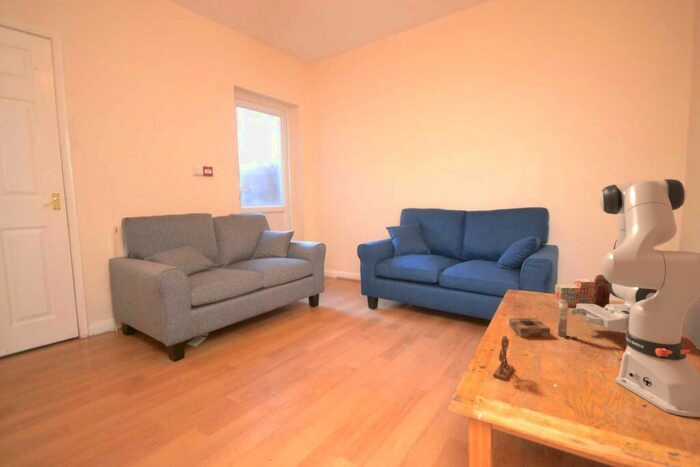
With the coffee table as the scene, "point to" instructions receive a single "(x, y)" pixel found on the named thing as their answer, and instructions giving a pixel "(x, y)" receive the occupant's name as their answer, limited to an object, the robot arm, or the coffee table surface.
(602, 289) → the wooden figurine
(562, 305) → the wooden dowel
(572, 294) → the stack of blocks
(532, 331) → the square hole block
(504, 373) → the brown ring sculpture
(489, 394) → the coffee table surface
